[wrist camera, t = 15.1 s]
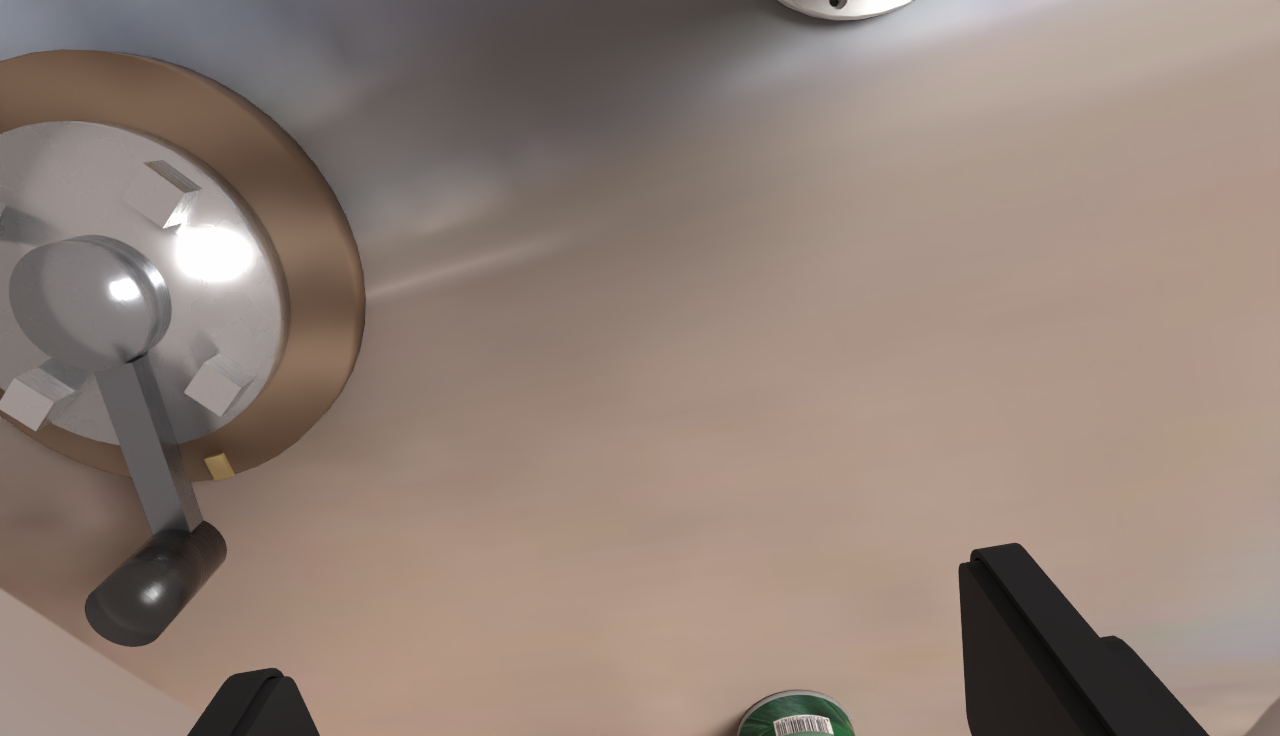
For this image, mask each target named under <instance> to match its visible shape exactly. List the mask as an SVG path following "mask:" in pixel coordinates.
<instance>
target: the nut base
mask: <svg viewBox="0 0 1280 736" xmlns="http://www.w3.org/2000/svg"><path fill="white" fill-rule="evenodd" d="M84 120H95V121H104V122H112V123H119V124H123V125H127V126H131V127H135V128H139V129H142V130H145V131H148V132H150V133H153V134H156V135H158V136H161V137H164V138H166V139H168V140H169V141H171V142H173V143H175V144H177V145H179V146H181V147H183V148H185V149H187V150H188V151H190V152H191V153H193V154H194V155H196V156H197V157H199V158H200V159H202V160H203V161H205V162H206V163H208V164H209V165H210V166H211V167H212V168H214V169H215V170H216V171H217V172H218V173H220V174H221V175H222V176H223V177H224V178H226V179H227V180H228V181H229V182H230V183H231V185H232V186H233V187H234V188H235V189H236V190H237V191H238V192H239V193H240V194H241V195H242V196H243V197H244V198H245V200H246V201H247V202H248V204H249V205H250V206H251V207H252V209H253V210H254V211H255V213H256V214H257V215H258V217H259V218H260V220H261V222H262V223H263V225H264V227H265V228H266V230H267V231H268V233H269V235H270V237H271V239H272V241H273V243H274V245H275V248H276V250H277V252H278V254H279V256H280V260H281V263H282V266H283V269H284V272H285V275H286V279H287V285H288V290H289V295H290V311H291V320H290V331H289V338H288V342H287V347H286V351H285V354H284V357H283V359H282V362H281V364H280V367H279V369H278V371H277V373H276V374H275V376H274V378H273V379H272V381H271V383H270V384H269V386H268V387H267V388H266V389H265V390H264V392H263V393H262V394H261V395H260V396H259V397H258V399H256V400H255V401H254V402H253V403H252V404H251V405H249V406H248V407H247V408H246V409H245V410H244V411H242V412H241V413H240V414H239V415H237V416H236V417H235V418H234V419H233V420H231V421H230V422H229V423H227V424H226V425H224V426H222V427H221V428H219V429H217V430H216V431H214V432H212V433H210V434H207V435H205V436H203V437H200V438H198V439H195V440H191V441H188V442H184V443H181V444H178V447H179V450H180V453H181V456H182V459H183V462H184V465H185V468H186V471H187V474H188V477H189V479H190V482H191V481H202V480H211V479H214V480H215V481H218V480H222V479H227V478H231V477H233V476H234V475H235V474H237V473H240V472H243V471H245V470H248V469H251V468H254V467H256V466H259V465H260V464H262V463H264V462H266V461H268V460H270V459H272V458H274V457H276V456H278V455H279V454H280V453H282V452H283V451H285V450H286V449H287V448H289V447H290V446H291V445H293V444H294V443H296V442H297V441H298V440H299V439H300V438H301V437H302V436H303V435H304V434H305V433H306V432H307V431H308V430H309V429H310V428H311V427H312V426H313V425H314V424H315V423H316V422H317V421H318V420H319V419H320V418H321V417H322V416H323V415H324V414H325V413H326V412H327V411H328V409H329V408H330V407H331V405H332V404H333V403H334V401H335V400H336V399H337V397H338V396H339V395H340V393H341V392H342V390H343V388H344V386H345V384H346V382H347V381H348V379H349V377H350V375H351V373H352V371H353V368H354V365H355V362H356V359H357V356H358V354H359V351H360V347H361V342H362V336H363V331H364V325H365V303H366V297H365V287H364V277H363V270H362V265H361V261H360V257H359V253H358V248H357V244H356V242H355V239H354V236H353V233H352V231H351V228H350V225H349V223H348V220H347V217H346V215H345V213H344V211H343V210H342V208H341V206H340V204H339V202H338V200H337V198H336V196H335V194H334V192H333V190H332V189H331V187H330V186H329V184H328V183H327V181H326V180H325V178H324V177H323V175H322V174H321V172H320V171H319V169H318V168H317V166H316V165H315V164H314V162H313V161H312V160H311V159H310V158H309V156H308V155H307V154H306V153H305V152H304V151H303V149H302V148H301V147H300V146H299V145H298V143H297V142H296V141H295V140H294V139H293V138H292V137H291V136H290V135H289V134H288V133H287V132H286V131H285V130H283V129H282V128H281V127H280V126H279V125H278V124H277V123H276V122H275V121H274V120H273V119H272V118H271V117H269V116H268V115H267V114H265V113H264V112H263V111H261V110H260V109H259V108H257V107H256V106H255V105H254V104H252V103H251V102H250V101H248V100H247V99H246V98H244V97H242V96H241V95H239V94H237V93H236V92H234V91H232V90H231V89H229V88H227V87H225V86H224V85H222V84H220V83H219V82H217V81H215V80H213V79H210V78H208V77H206V76H204V75H201V74H199V73H197V72H195V71H193V70H190V69H188V68H185V67H182V66H179V65H176V64H172V63H169V62H166V61H163V60H159V59H156V58H151V57H145V56H139V55H134V54H128V53H119V52H106V51H88V50H54V51H45V52H36V53H30V54H26V55H22V56H18V57H15V58H11V59H7V60H3V61H1V62H0V134H2V133H3V132H7V131H10V130H13V129H16V128H19V127H22V126H26V125H32V124H38V123H44V122H57V121H84ZM4 394H5V391H4V390H3V389H2V388H0V401H1V399H2V397H3V396H4ZM0 415H1V416H2V417H3V418H5V419H6V420H7V421H9V422H10V423H11V424H13V425H14V426H16V427H17V428H18V429H20V430H21V431H22V432H24V433H25V434H27V435H28V436H30V437H32V438H33V439H35V440H37V441H38V442H40V443H42V444H43V445H45V446H47V447H49V448H50V449H52V450H54V451H56V452H58V453H61V454H63V455H65V456H67V457H69V458H71V459H73V460H75V461H78V462H80V463H83V464H86V465H89V466H92V467H94V468H97V469H100V470H103V471H106V472H110V473H114V474H118V475H122V476H126V477H131V474H130V471H129V468H128V466H127V463H126V460H125V457H124V455H123V452H122V449H121V446H120V445H115V444H110V443H105V442H101V441H96V440H93V439H90V438H87V437H84V436H81V435H77V434H75V433H72V432H70V431H68V430H66V429H63V428H61V427H59V426H56V425H54V424H52V423H50V424H48V425H46V426H45V427H43V428H41V429H39V430H38V431H34V430H33V429H31V428H29V427H28V426H26V425H25V424H23V423H21V422H20V421H18V420H16V419H15V418H13V417H12V416H10V415H8V414H7V413H5V412H3V411H2V410H0ZM131 478H132V477H131Z"/></svg>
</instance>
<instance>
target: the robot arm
mask: <svg viewBox="0 0 1280 736" xmlns="http://www.w3.org/2000/svg"><path fill="white" fill-rule="evenodd" d="M778 1H779V2H781V3H782V4H784V5H785V6H787V7H789V8H791V9H794V10H796V11H799V12H801V13H804V14H806V15H809V16H811V17H817V18H823V19H829V20H835V21H838V20H859V19H865V18H869V17H874V16H878V15H882V14H885V13H888V12H891V11H893V10H896V9H898V8H901V7H904V6H906V5H908V4H910V3H911V2H913V1H915V0H838V4H837V6H835V7H833V6H831V5H830V4H829V0H778ZM959 589H960V607H961V624H962V642H963V660H964V678H965V696H966V713H967V720H968V724H969V728H970V731H971V734H972V736H1209V735H1208V734H1207V732H1206V731H1205V730H1204V729H1203V728H1202V727H1201V726H1200V725H1199V723H1198V722H1197V721H1196V720H1195V719H1194V718H1193V717H1192V716H1191V714H1190V713H1189V712H1188V711H1187V710H1186V709H1185V708H1184V707H1183V705H1182V704H1181V703H1180V702H1179V701H1178V700H1177V699H1176V698H1175V696H1174V695H1173V694H1172V693H1171V692H1170V691H1169V690H1168V689H1167V687H1166V686H1165V685H1164V684H1163V683H1162V682H1161V681H1160V680H1159V678H1158V677H1157V676H1156V675H1155V674H1154V673H1153V672H1152V671H1151V669H1150V668H1149V667H1148V666H1147V665H1146V664H1145V663H1144V661H1143V660H1142V659H1141V658H1140V657H1139V656H1138V655H1137V654H1136V652H1135V651H1134V650H1133V649H1132V648H1131V647H1130V646H1129V645H1127V644H1126V643H1125V642H1124V641H1123V640H1122V639H1120V638H1117V637H1115V636H1108V637H1101V638H1100V637H1099V636H1098V635H1097V634H1096V633H1095V631H1094V630H1093V629H1092V628H1091V627H1090V626H1089V624H1088V623H1087V622H1086V621H1085V620H1084V618H1083V617H1082V616H1081V615H1080V614H1079V613H1078V611H1077V610H1076V609H1075V608H1074V607H1073V605H1072V604H1071V603H1070V602H1069V601H1068V600H1067V598H1066V597H1065V596H1064V595H1063V594H1062V593H1061V591H1060V590H1059V589H1058V588H1057V587H1056V585H1055V584H1054V583H1053V582H1052V581H1051V580H1050V578H1049V577H1048V576H1047V575H1046V574H1045V572H1044V571H1043V570H1042V569H1041V568H1040V567H1039V565H1038V564H1037V563H1036V562H1035V561H1034V559H1033V558H1032V557H1031V556H1030V555H1029V554H1028V552H1027V551H1026V550H1025V549H1024V548H1023V547H1022V546H1021V545H1020V544H1018V543H1011V544H1005V545H999V546H993V547H987V548H981V549H975V550H973V551H972V553H971V556H970V562H966V563H961V564H960V565H959ZM187 736H320V735H319V733H318V731H317V728H316V726H315V724H314V722H313V720H312V718H311V715H310V713H309V711H308V709H307V707H306V705H305V703H304V700H303V698H302V696H301V694H300V692H299V690H298V687H297V685H296V683H295V682H294V680H293V679H292V678H290V677H287V676H285V677H284V675H283V674H282V672H281V671H279V670H278V669H276V668H268V669H262V670H256V671H250V672H244V673H238V674H234V675H232V676H230V677H229V678H228V679H227V680H226V681H225V682H224V683H223V685H222V686H221V688H220V689H219V691H218V692H217V693H216V695H215V696H214V698H213V699H212V701H211V702H210V704H209V705H208V706H207V708H206V709H205V711H204V712H203V714H202V715H201V717H200V718H199V719H198V721H197V722H196V724H195V725H194V727H193V728H192V730H191V731H190V733H189V734H188V735H187Z"/></svg>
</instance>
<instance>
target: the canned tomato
mask: <svg viewBox="0 0 1280 736" xmlns="http://www.w3.org/2000/svg"><path fill="white" fill-rule="evenodd" d="M737 736H855V733H854V730H853V726H852V722H851V719H850V717H849V715H848V713H847V711H846V710H845V709H844V708H843V707H842V706H841V705H840V704H839V703H838V702H836V701H835V700H834V699H832V698H830V697H828V696H826V695H824V694H821V693H817V692H813V691H804V690H795V691H786V692H782V693H777V694H775V695H772V696H770V697H767V698H765V699H763V700H762V701H760V702H758V703H757V704H756V705H755V706H753V707H752V708H751V709H750V710H749V711H748V712H747V713H746V715H745V716H744V717H743V719H742V721H741V723H740V725H739V728H738V732H737Z"/></svg>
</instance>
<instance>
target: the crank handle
mask: <svg viewBox="0 0 1280 736" xmlns="http://www.w3.org/2000/svg"><path fill="white" fill-rule="evenodd" d="M290 320H291V311H290V295H289V290H288V285H287V279H286V275H285V272H284V269H283V266H282V263H281V260H280V256H279V254H278V252H277V250H276V248H275V245H274V243H273V241H272V239H271V237H270V235H269V233H268V231H267V230H266V228H265V227H264V225H263V223H262V222H261V220H260V218H259V217H258V215H257V214H256V213H255V211H254V210H253V209H252V207H251V206H250V205H249V204H248V202H247V201H246V200H245V198H244V197H243V196H242V195H241V194H240V193H239V192H238V191H237V190H236V189H235V188H234V187H233V186H232V185H231V183H230V182H229V181H228V180H227V179H226V178H224V177H223V176H222V175H221V174H220V173H218V172H217V171H216V170H215V169H214V168H212V167H211V166H210V165H209V164H208V163H206V162H205V161H203V160H202V159H200V158H199V157H197V156H196V155H194V154H193V153H191V152H190V151H188V150H187V149H185V148H183V147H181V146H179V145H177V144H175V143H173V142H171V141H169V140H168V139H166V138H164V137H161V136H158V135H156V134H153V133H150V132H148V131H145V130H142V129H139V128H135V127H131V126H127V125H123V124H119V123H112V122H104V121H95V120H84V121H57V122H44V123H38V124H32V125H26V126H22V127H19V128H16V129H13V130H10V131H7V132H3V133H2V134H0V388H2V389H3V390H4V391H5V394H4V396H3V397H2V399H1V401H0V410H2V411H3V412H5V413H7V414H8V415H10V416H12V417H13V418H15V419H16V420H18V421H20V422H21V423H23V424H25V425H26V426H28V427H29V428H31V429H33V430H34V431H38V430H39V429H41V428H43V427H45V426H46V425H48V424H50V423H52V424H54V425H56V426H59V427H61V428H63V429H66V430H68V431H70V432H72V433H75V434H77V435H81V436H84V437H87V438H90V439H93V440H96V441H101V442H105V443H110V444H115V445H120V446H121V449H122V452H123V455H124V457H125V460H126V463H127V466H128V468H129V471H130V474H131V477H132V479H133V482H134V485H135V488H136V490H137V493H138V496H139V498H140V501H141V504H142V507H143V509H144V512H145V515H146V518H147V520H148V523H149V526H150V529H151V531H152V534H153V536H152V537H151V538H150V539H149V540H148V541H147V542H146V543H145V544H143V545H142V546H141V547H140V548H139V549H138V550H137V551H136V552H135V553H134V554H133V555H132V556H131V557H129V558H128V559H127V560H126V561H125V562H124V563H123V564H122V565H121V566H120V567H119V568H118V569H116V570H115V571H114V572H113V573H112V574H111V575H110V576H109V577H108V578H107V579H106V580H105V581H104V582H102V583H101V584H100V585H99V586H98V587H97V588H96V589H95V590H94V591H93V592H92V593H91V594H90V595H89V596H88V598H87V600H86V603H85V613H86V617H87V620H88V622H89V623H90V625H91V626H92V628H93V629H94V630H95V631H96V632H97V633H98V634H100V635H101V636H102V637H104V638H105V639H107V640H109V641H111V642H113V643H116V644H119V645H123V646H130V647H137V646H143V645H147V644H149V643H151V642H153V641H154V640H156V639H157V638H158V637H159V636H160V634H161V633H162V632H163V631H164V630H165V629H166V628H167V626H168V625H169V624H170V623H171V622H172V621H173V620H174V618H175V617H176V616H177V615H178V614H179V613H180V612H181V610H182V609H183V608H184V607H185V606H186V605H187V603H188V602H189V601H190V600H191V599H192V598H193V597H194V595H195V594H196V593H197V592H198V591H199V590H200V589H201V587H202V586H203V585H204V584H205V583H206V582H207V580H208V579H209V578H210V577H211V576H212V575H213V574H214V572H215V571H216V570H217V569H218V568H219V567H220V566H221V564H222V563H223V562H224V560H225V558H226V554H227V547H226V543H225V540H224V538H223V537H222V535H221V534H220V532H219V531H218V530H217V529H216V528H215V527H214V526H212V525H211V524H209V523H207V522H206V521H203V518H202V515H201V512H200V509H199V506H198V503H197V500H196V497H195V494H194V491H193V488H192V485H191V482H190V479H189V477H188V474H187V471H186V468H185V465H184V462H183V459H182V456H181V453H180V450H179V447H178V444H181V443H184V442H188V441H191V440H195V439H198V438H200V437H203V436H205V435H207V434H210V433H212V432H214V431H216V430H217V429H219V428H221V427H222V426H224V425H226V424H227V423H229V422H230V421H231V420H233V419H234V418H235V417H236V416H237V415H239V414H240V413H241V412H242V411H244V410H245V409H246V408H247V407H248V406H249V405H251V404H252V403H253V402H254V401H255V400H256V399H258V397H259V396H260V395H261V394H262V393H263V392H264V390H265V389H266V388H267V387H268V386H269V384H270V383H271V381H272V379H273V378H274V376H275V374H276V373H277V371H278V369H279V367H280V364H281V362H282V359H283V357H284V354H285V351H286V347H287V342H288V338H289V331H290Z"/></svg>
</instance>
